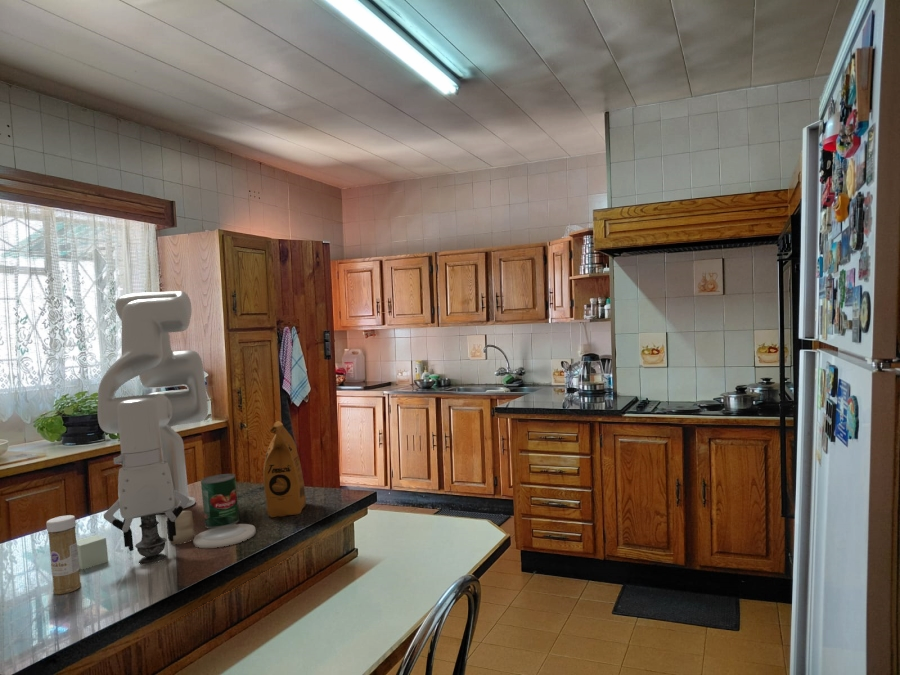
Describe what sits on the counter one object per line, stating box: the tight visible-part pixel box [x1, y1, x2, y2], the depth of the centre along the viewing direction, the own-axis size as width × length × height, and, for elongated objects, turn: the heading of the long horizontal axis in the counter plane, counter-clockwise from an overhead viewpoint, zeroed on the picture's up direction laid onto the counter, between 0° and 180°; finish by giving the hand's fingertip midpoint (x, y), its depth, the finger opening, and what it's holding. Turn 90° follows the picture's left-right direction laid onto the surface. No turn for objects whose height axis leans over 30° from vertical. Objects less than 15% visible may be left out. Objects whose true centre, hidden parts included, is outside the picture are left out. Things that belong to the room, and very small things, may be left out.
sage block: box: [76, 534, 109, 571], centre depth 131 cm, size 5×5×5 cm
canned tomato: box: [200, 473, 240, 529], centre depth 153 cm, size 8×8×11 cm
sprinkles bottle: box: [46, 514, 82, 595], centre depth 117 cm, size 5×5×13 cm
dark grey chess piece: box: [134, 514, 168, 565], centre depth 130 cm, size 6×6×12 cm
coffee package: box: [262, 420, 306, 518], centre depth 159 cm, size 10×12×22 cm
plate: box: [192, 523, 256, 549], centre depth 141 cm, size 13×13×1 cm
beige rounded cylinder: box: [169, 510, 195, 545], centre depth 142 cm, size 5×5×6 cm
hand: (151, 543), depth 130 cm, fingers open, 6 cm apart
